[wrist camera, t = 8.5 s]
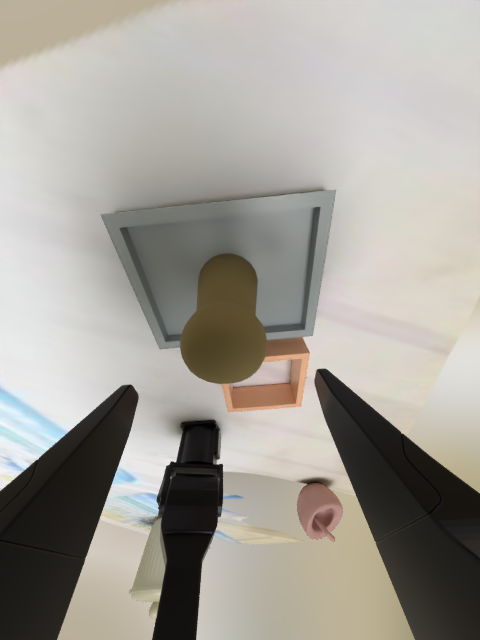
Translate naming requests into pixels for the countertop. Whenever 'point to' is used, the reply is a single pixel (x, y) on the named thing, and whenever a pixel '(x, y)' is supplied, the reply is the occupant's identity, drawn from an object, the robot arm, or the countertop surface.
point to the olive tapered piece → (225, 323)
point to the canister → (150, 572)
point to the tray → (227, 238)
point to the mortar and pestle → (318, 511)
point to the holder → (276, 393)
